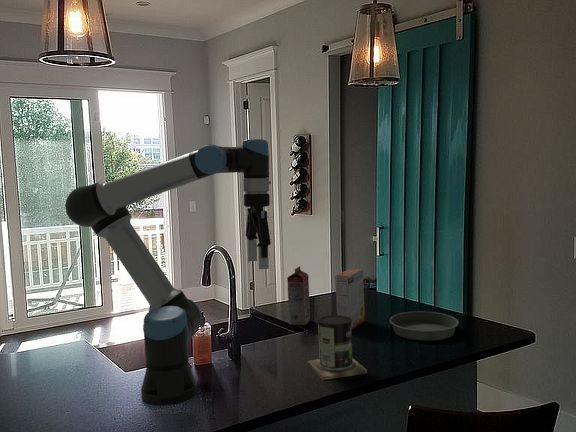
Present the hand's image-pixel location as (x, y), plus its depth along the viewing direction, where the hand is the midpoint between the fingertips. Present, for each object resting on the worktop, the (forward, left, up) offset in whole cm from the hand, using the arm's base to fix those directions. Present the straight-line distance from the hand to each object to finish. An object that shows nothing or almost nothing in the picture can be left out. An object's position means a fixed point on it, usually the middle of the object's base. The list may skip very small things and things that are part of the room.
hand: (257, 265), depth 161 cm
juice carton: (+27, +48, -34) cm, 65 cm away
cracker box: (+44, +36, -34) cm, 66 cm away
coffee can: (+22, -4, -32) cm, 39 cm away
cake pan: (+65, +18, -34) cm, 76 cm away
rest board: (+22, -4, -33) cm, 40 cm away
